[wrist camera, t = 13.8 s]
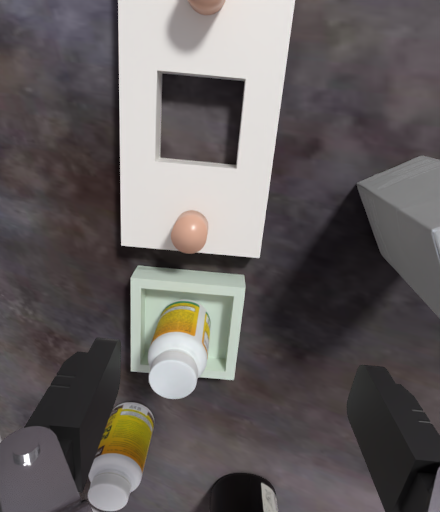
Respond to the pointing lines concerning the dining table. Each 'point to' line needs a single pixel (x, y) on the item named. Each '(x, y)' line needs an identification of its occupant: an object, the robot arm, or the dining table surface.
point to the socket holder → (149, 121)
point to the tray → (191, 288)
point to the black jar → (243, 494)
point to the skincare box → (408, 222)
